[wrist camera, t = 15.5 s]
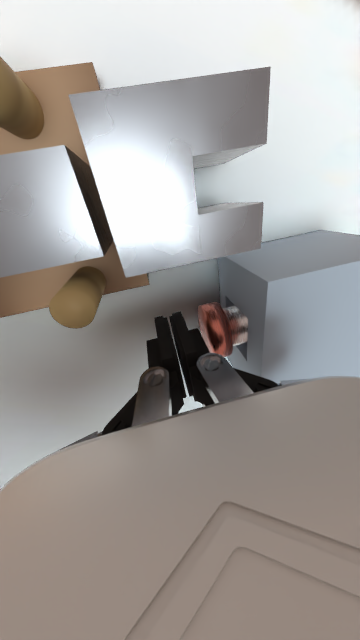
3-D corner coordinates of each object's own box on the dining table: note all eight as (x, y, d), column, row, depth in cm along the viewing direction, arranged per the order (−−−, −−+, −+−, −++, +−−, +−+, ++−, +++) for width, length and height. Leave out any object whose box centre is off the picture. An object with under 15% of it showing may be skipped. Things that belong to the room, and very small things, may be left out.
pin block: (223, 351, 16) (258, 409, 12) (217, 252, 12) (268, 282, 8) (301, 331, 17) (364, 378, 12) (321, 230, 13) (428, 244, 8)
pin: (201, 338, 15) (217, 371, 12) (195, 296, 13) (213, 323, 10) (335, 305, 15) (381, 328, 13) (347, 261, 14) (404, 276, 11)
